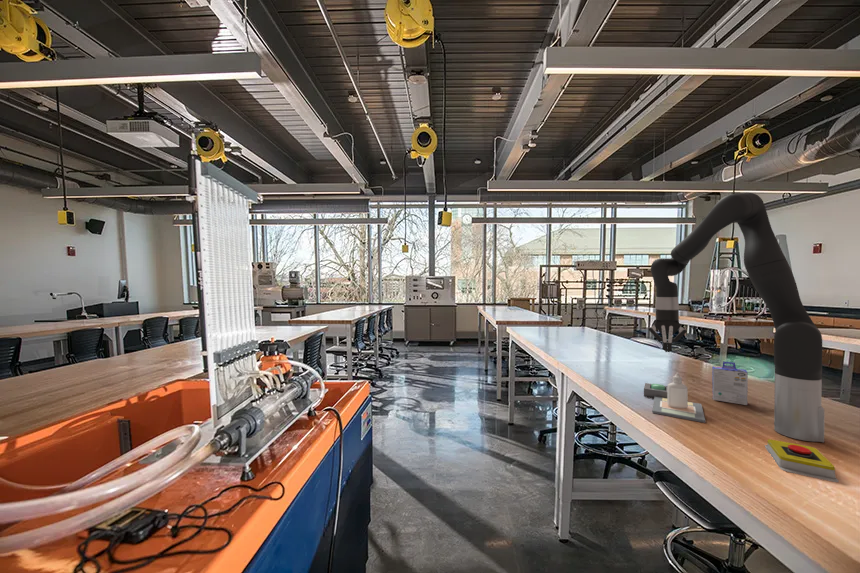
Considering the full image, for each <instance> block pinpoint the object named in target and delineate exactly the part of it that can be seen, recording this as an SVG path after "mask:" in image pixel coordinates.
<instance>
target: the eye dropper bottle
mask: <svg viewBox="0 0 860 573" xmlns="http://www.w3.org/2000/svg"><path fill="white" fill-rule="evenodd" d="M682 380H683V379H682V376H681V375H680V373H679V372H676V373H675V375H673V376H672V382H670V383H668V384H667V386H668V387H667V404H668V405H669V406H670V407H673V408H682V409H684V408H687V407H688V402H689V401H688V400H689V399H688V394H689V393H688V390H689V389H688V386H687V385H686V384H684V383H682V382H683V381H682Z"/></svg>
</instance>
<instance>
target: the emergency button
mask: <svg viewBox="0 0 860 573" xmlns="http://www.w3.org/2000/svg"><path fill="white" fill-rule="evenodd" d="M764 446H765V450H766V451H767V452H768V454H769V453H770V454H771V455H770V454H769V455H770V457H771V458H772V457H773V458H772V459H773V461H774V460H775V461H774V462H775V464H776V465H777V466H778V468H779V469H780V470H781V471H783V472H787V473H791V474H796V475H800V476H804V477H809V478H815V479H819V480H823V481H829V482H833V483H839V479H837V477H836V467H835V465H834V464H833V463H832V462H831V461H830V460H828V458H827V457H826V456H824V455H823V454H822V452H820V451H819V450H818V449H817V448H816V447H813V446H809V445H808V446H807V445H803V444H798V443H792V442H787V441H782V440H776V439H770V438H768V439H767V444H764Z"/></svg>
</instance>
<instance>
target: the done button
mask: <svg viewBox="0 0 860 573" xmlns="http://www.w3.org/2000/svg"><path fill="white" fill-rule="evenodd" d="M650 384H651V388H652V389H659V390H665V386H666V385H664V384H661V383H650Z"/></svg>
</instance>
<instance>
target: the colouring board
mask: <svg viewBox="0 0 860 573" xmlns="http://www.w3.org/2000/svg"><path fill="white" fill-rule="evenodd" d="M702 405H703V404H702V403H698V402H692V401H688V407H687V408H684V409H682V408H673V407H670V406H669V405H668V404H667V398H663V397H656V396H654V398H653V405H652V412H651V413H652V414H657V415H662V416H668V417H672V418H678V419H683V420H688V421H692V422H699V423H704V424H706V417H705V413H704V410H703V406H702Z"/></svg>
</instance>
